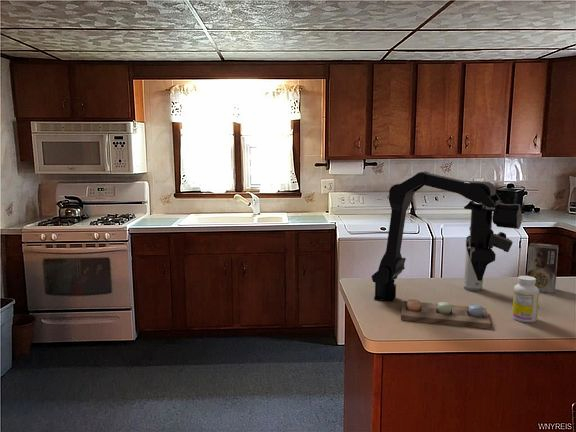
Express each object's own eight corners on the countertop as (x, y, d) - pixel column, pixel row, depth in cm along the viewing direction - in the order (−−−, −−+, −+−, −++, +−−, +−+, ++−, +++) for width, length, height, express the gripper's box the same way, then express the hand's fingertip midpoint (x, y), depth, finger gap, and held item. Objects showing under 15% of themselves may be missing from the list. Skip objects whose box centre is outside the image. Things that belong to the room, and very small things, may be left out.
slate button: (469, 316, 137) (469, 308, 137) (468, 311, 141) (468, 304, 141) (483, 317, 136) (484, 309, 136) (482, 312, 140) (482, 305, 139)
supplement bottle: (524, 313, 143) (527, 273, 141) (541, 321, 136) (545, 279, 134) (506, 316, 141) (509, 275, 138) (524, 324, 134) (527, 282, 132)
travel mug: (481, 292, 162) (484, 237, 159) (461, 289, 166) (464, 235, 162) (484, 288, 167) (487, 234, 164) (465, 285, 171) (468, 232, 168)
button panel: (400, 319, 139) (401, 315, 138) (403, 305, 151) (403, 300, 151) (490, 328, 132) (491, 323, 131) (485, 312, 144) (485, 307, 144)
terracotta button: (406, 310, 142) (407, 303, 142) (407, 306, 146) (407, 298, 146) (420, 311, 141) (420, 304, 141) (420, 307, 145) (420, 300, 145)
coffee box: (555, 288, 166) (559, 245, 163) (554, 293, 160) (558, 248, 158) (527, 284, 171) (530, 242, 168) (525, 289, 165) (528, 245, 163)
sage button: (437, 313, 140) (437, 305, 139) (437, 308, 144) (437, 301, 143) (451, 314, 139) (451, 307, 138) (450, 310, 142) (451, 302, 142)
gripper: (517, 232, 123) (513, 288, 126) (505, 220, 141) (502, 270, 144) (472, 230, 126) (470, 285, 129) (466, 219, 144) (464, 267, 147)
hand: (478, 276), depth 137 cm, fingers open, 8 cm apart
